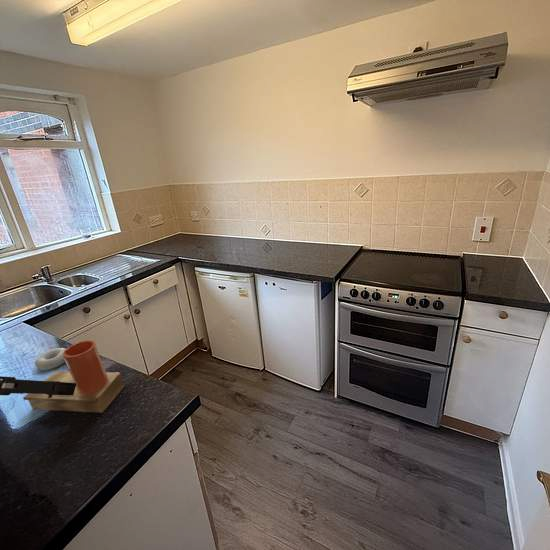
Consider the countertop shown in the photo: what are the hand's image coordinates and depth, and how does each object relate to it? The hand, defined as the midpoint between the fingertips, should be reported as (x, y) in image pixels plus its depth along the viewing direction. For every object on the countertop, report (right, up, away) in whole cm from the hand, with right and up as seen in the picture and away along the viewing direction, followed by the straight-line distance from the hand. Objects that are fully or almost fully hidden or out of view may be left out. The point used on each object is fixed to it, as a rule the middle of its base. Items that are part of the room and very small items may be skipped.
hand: (48, 388), depth 71 cm
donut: (-23, -4, +33) cm, 40 cm away
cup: (+3, -4, +13) cm, 13 cm away
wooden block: (-2, -8, +15) cm, 18 cm away
